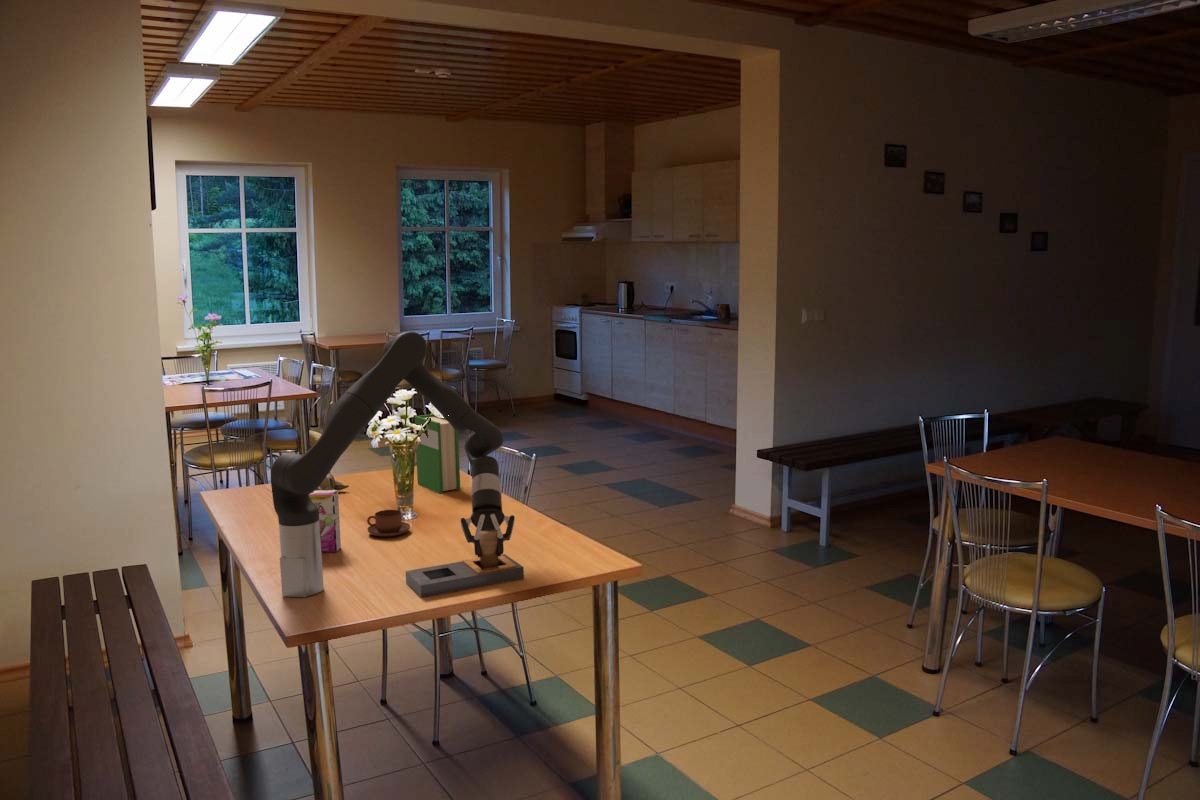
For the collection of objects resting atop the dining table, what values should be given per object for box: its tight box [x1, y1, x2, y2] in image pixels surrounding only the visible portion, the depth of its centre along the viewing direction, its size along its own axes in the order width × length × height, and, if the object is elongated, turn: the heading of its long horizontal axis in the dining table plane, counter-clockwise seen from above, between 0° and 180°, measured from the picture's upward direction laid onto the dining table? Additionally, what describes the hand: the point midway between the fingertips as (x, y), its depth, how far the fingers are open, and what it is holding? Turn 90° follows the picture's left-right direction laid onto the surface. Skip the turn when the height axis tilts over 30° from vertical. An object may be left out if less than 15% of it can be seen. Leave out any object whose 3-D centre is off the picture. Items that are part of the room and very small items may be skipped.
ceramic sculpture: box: [315, 472, 350, 491], centre depth 326 cm, size 11×9×15 cm
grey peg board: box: [405, 553, 525, 599], centre depth 236 cm, size 26×12×3 cm, turn 118°
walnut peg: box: [479, 529, 499, 569], centre depth 239 cm, size 4×4×10 cm
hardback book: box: [414, 413, 461, 495], centre depth 330 cm, size 18×7×24 cm, turn 36°
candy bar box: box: [309, 489, 342, 554], centre depth 262 cm, size 11×5×16 cm, turn 92°
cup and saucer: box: [366, 509, 411, 538], centre depth 278 cm, size 12×12×6 cm
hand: (489, 555), depth 237 cm, fingers closed on walnut peg, 4 cm apart
